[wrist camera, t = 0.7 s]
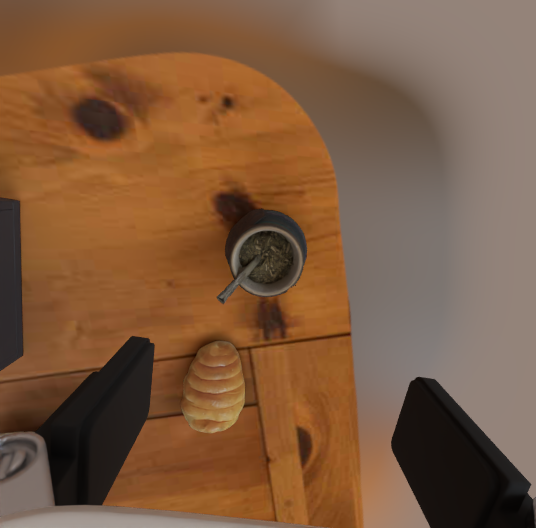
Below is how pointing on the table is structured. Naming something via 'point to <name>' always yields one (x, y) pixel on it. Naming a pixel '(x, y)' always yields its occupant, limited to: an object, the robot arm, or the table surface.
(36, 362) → the table surface
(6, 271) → the trash bin
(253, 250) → the mate gourd
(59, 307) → the table surface
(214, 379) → the pastry
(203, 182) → the table surface
